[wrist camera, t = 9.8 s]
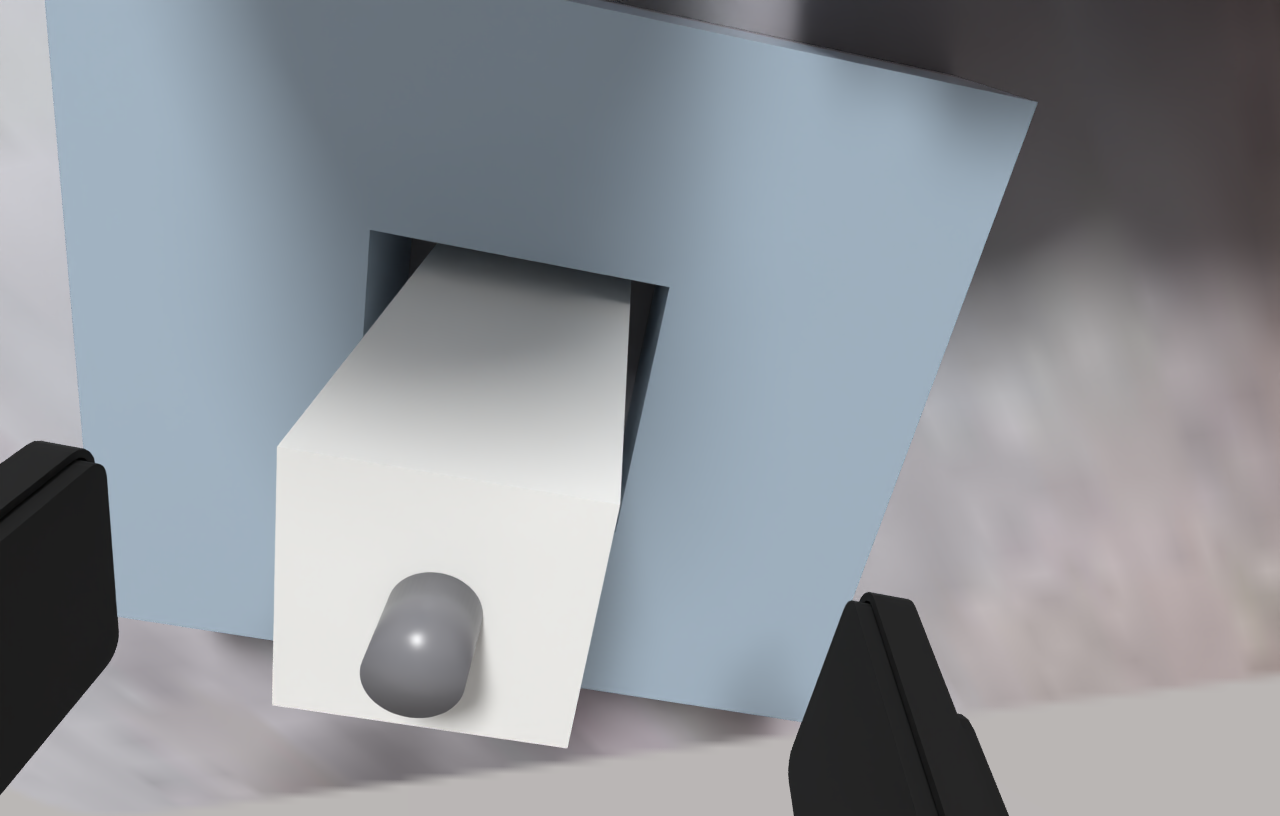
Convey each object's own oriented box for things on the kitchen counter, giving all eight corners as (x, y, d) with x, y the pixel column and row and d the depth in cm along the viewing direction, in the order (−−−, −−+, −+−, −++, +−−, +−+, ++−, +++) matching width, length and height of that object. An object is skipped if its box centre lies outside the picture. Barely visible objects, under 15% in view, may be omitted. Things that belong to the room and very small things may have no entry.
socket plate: (953, 75, 19) (1037, 101, 15) (780, 600, 25) (806, 723, 21) (176, -93, 17) (34, -115, 13) (192, 503, 23) (97, 613, 19)
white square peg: (632, 261, 20) (616, 565, 9) (600, 421, 21) (560, 823, 11) (449, 226, 19) (232, 502, 9) (433, 391, 21) (234, 777, 11)
